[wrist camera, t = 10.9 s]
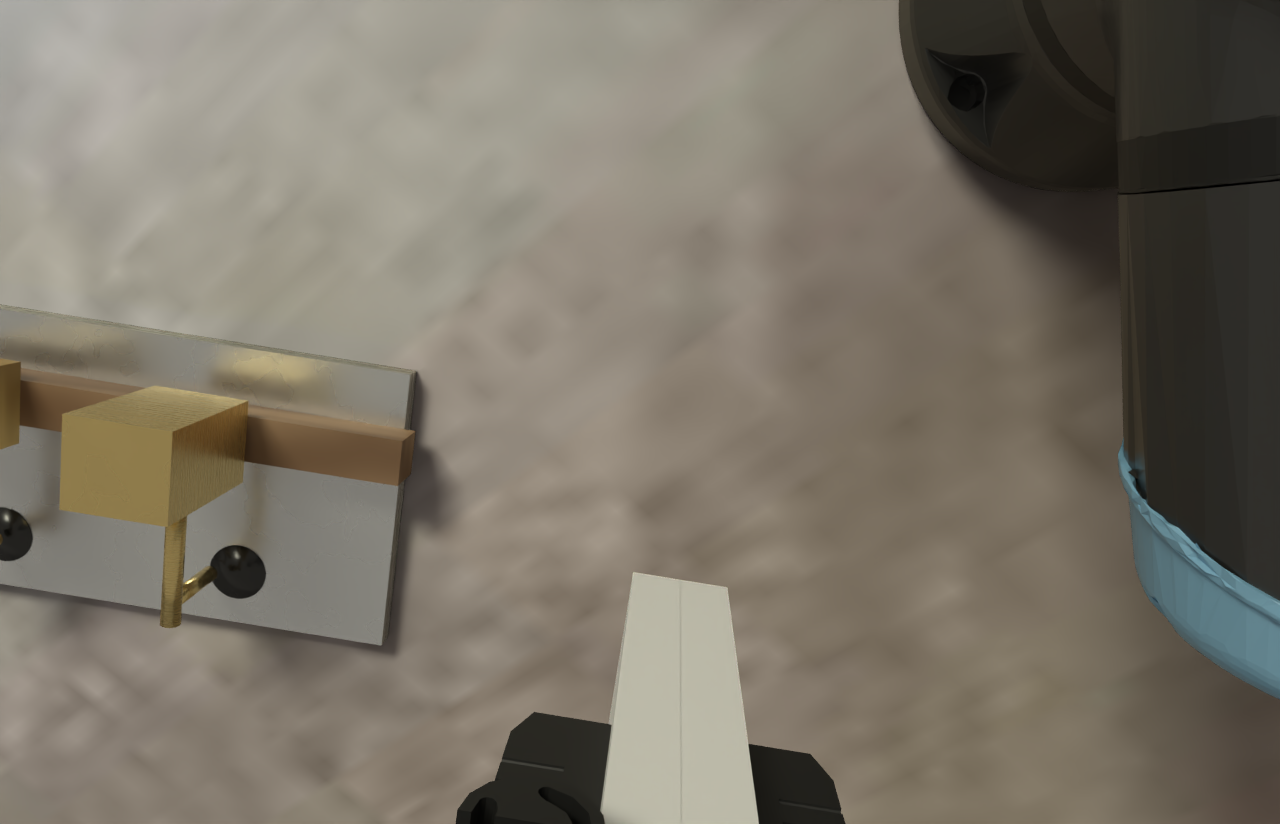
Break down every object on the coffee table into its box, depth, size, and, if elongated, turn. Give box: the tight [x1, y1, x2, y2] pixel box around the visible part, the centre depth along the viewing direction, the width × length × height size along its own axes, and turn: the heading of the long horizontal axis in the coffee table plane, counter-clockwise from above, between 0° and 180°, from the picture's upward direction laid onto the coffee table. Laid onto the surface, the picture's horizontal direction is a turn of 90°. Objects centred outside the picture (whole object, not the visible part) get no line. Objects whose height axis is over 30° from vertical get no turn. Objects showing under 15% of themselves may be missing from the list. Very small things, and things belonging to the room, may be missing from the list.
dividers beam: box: [0, 358, 415, 544], centre depth 39 cm, size 10×21×8 cm, turn 81°
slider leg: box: [59, 386, 249, 628], centre depth 38 cm, size 10×4×8 cm, turn 171°
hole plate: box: [0, 305, 416, 646], centre depth 43 cm, size 13×21×1 cm, turn 81°
